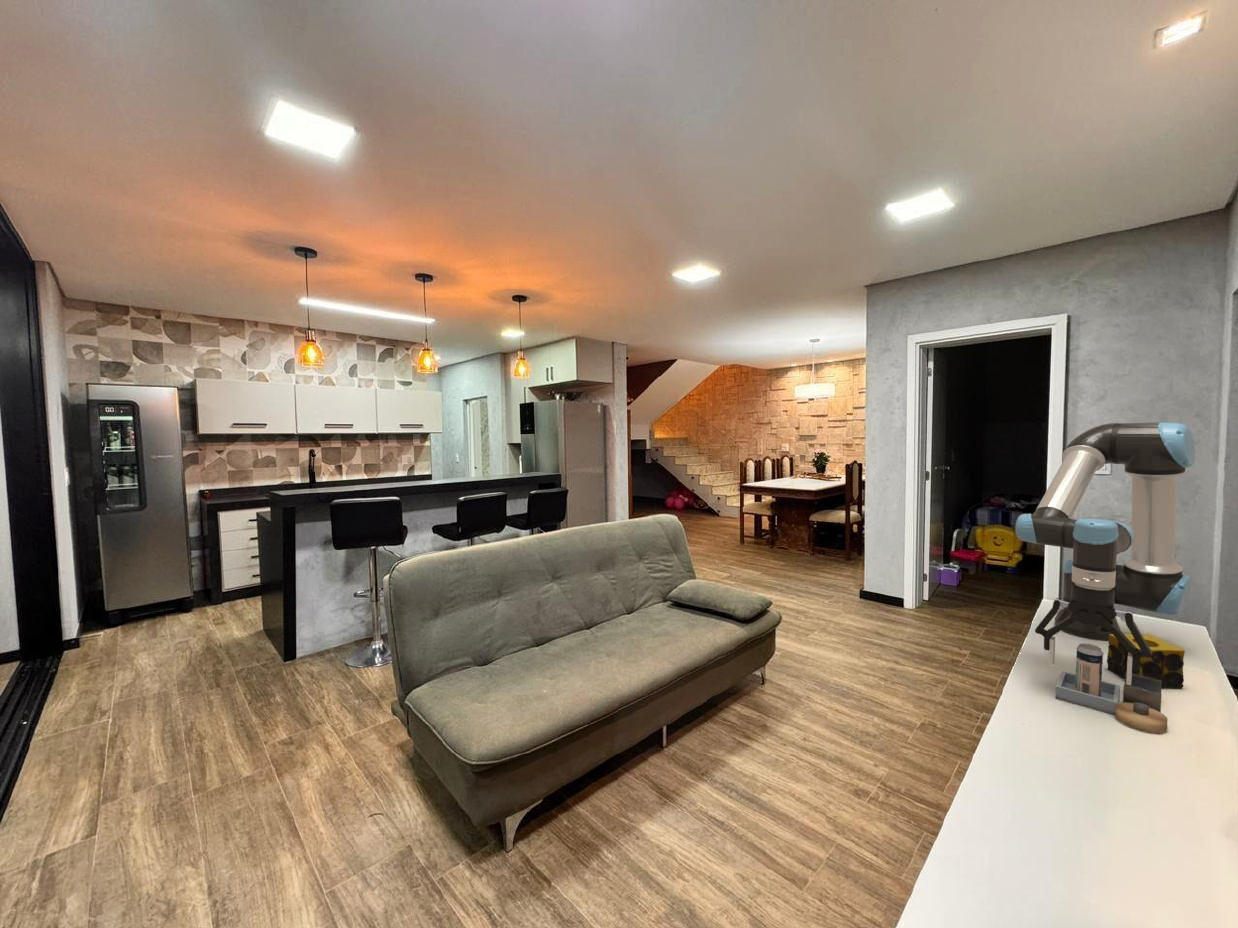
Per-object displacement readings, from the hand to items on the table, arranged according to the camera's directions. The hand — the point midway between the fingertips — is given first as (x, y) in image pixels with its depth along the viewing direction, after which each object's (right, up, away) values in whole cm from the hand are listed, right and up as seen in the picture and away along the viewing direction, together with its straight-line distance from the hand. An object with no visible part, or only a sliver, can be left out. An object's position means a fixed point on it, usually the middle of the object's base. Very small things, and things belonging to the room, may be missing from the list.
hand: (1088, 672), depth 123 cm
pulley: (+2, -7, -10) cm, 12 cm away
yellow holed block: (+22, -5, +8) cm, 24 cm away
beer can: (0, -6, 0) cm, 6 cm away
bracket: (+10, -6, -3) cm, 12 cm away
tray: (0, -6, +1) cm, 6 cm away
